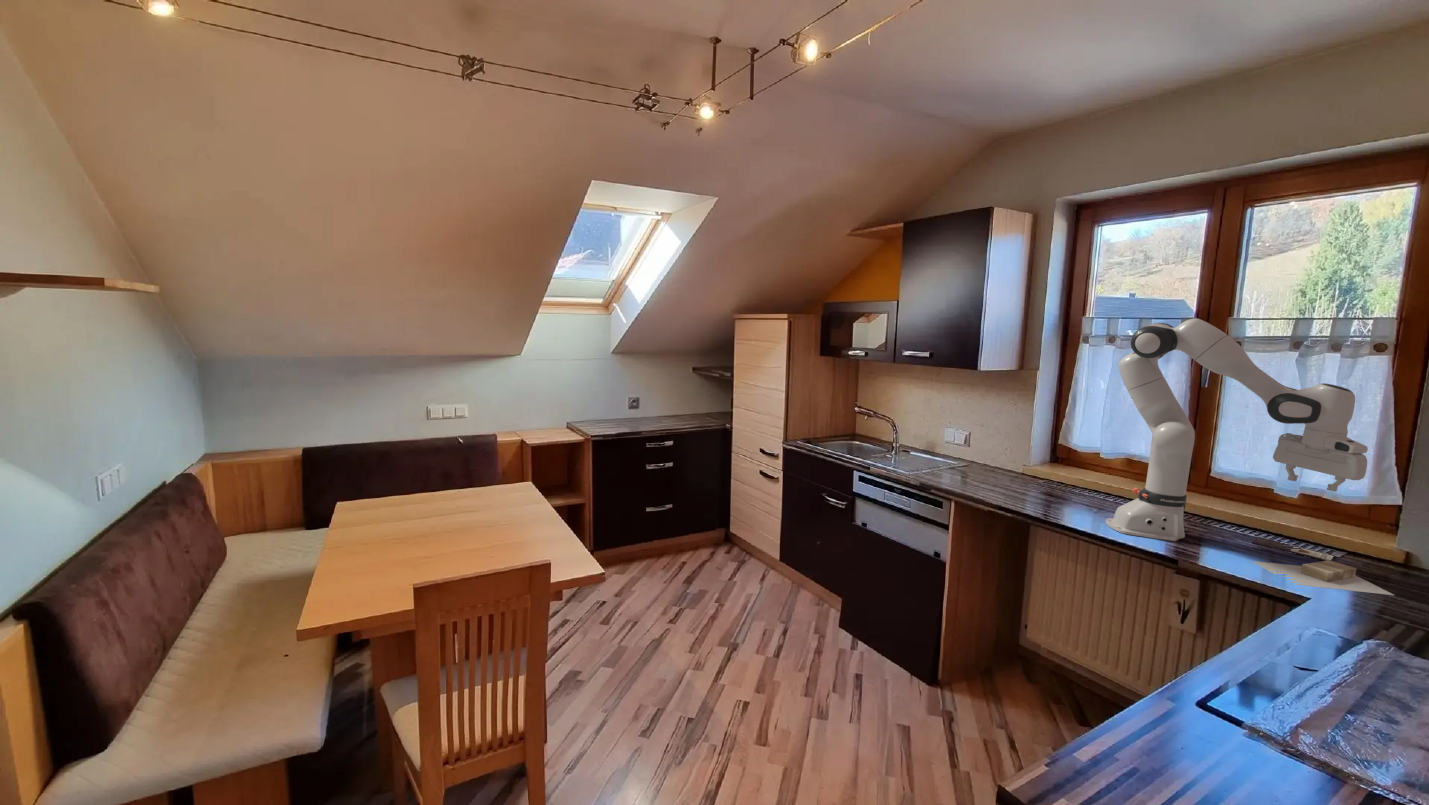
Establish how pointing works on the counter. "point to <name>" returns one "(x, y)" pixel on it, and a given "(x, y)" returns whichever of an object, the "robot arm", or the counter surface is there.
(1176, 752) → the counter surface
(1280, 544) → the chocolate bar
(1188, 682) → the counter surface
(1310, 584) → the mat
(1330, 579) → the birch box
